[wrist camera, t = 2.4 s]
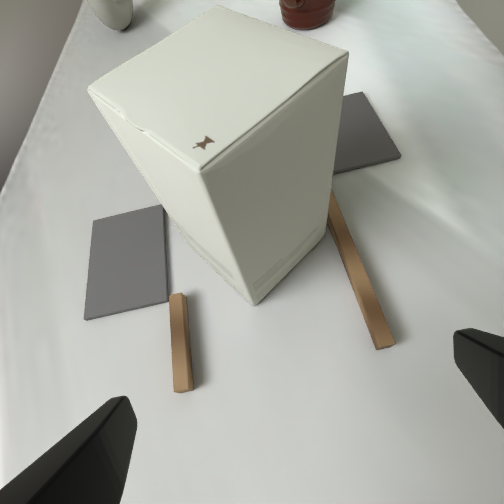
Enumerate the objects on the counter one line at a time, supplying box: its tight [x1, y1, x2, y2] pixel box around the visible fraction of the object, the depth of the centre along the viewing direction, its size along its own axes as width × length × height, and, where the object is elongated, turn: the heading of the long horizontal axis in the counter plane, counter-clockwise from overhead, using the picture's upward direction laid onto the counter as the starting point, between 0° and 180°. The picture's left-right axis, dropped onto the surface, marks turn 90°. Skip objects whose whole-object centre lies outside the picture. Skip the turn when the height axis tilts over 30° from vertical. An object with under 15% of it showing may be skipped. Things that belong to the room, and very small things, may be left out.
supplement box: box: [87, 5, 349, 306], centre depth 20 cm, size 9×9×15 cm
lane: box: [169, 189, 396, 393], centre depth 27 cm, size 30×15×3 cm, turn 11°
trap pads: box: [84, 92, 401, 320], centre depth 29 cm, size 19×30×1 cm, turn 100°
